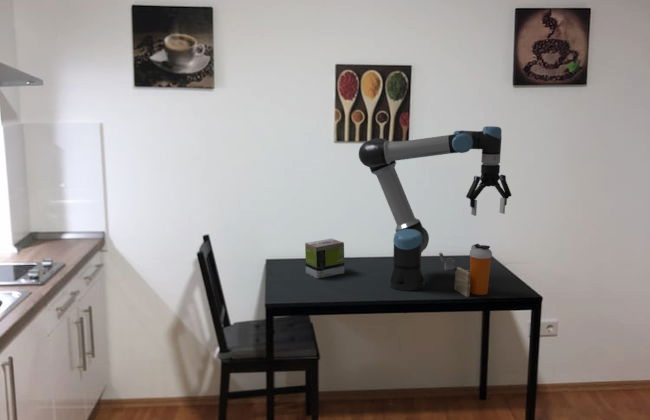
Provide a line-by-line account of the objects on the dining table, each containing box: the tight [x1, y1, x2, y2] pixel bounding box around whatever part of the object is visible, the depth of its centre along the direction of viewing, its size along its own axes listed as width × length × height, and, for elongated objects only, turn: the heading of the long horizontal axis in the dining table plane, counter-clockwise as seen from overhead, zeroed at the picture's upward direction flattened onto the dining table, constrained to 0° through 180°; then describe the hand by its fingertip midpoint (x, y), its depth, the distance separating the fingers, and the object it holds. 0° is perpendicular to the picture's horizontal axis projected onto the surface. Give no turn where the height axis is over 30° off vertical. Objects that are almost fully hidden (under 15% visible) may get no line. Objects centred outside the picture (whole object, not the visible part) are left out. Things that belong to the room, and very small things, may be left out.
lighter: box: [438, 252, 455, 271], centre depth 299 cm, size 7×2×8 cm, turn 94°
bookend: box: [454, 266, 471, 298], centre depth 266 cm, size 14×10×10 cm
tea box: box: [304, 238, 345, 279], centre depth 290 cm, size 15×10×15 cm, turn 123°
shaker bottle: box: [469, 243, 493, 296], centre depth 264 cm, size 9×9×20 cm
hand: (487, 214), depth 271 cm, fingers open, 13 cm apart
